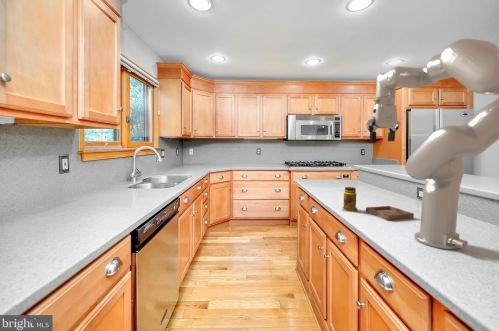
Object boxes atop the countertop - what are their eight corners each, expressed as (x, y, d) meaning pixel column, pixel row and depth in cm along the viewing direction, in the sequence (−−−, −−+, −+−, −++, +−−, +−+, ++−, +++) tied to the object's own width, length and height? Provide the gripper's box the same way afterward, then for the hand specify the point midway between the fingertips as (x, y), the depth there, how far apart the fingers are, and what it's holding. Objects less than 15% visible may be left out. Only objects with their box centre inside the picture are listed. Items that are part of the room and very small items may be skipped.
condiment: (342, 211, 118) (343, 188, 117) (342, 206, 126) (342, 185, 125) (358, 212, 116) (359, 189, 115) (356, 208, 124) (357, 186, 123)
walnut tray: (413, 218, 106) (413, 213, 105) (388, 220, 103) (388, 215, 102) (388, 210, 119) (389, 205, 119) (365, 211, 116) (366, 207, 116)
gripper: (374, 99, 95) (371, 141, 97) (408, 101, 99) (405, 141, 100) (361, 102, 102) (359, 141, 104) (394, 104, 106) (391, 141, 108)
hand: (381, 141), depth 102 cm, fingers open, 9 cm apart
